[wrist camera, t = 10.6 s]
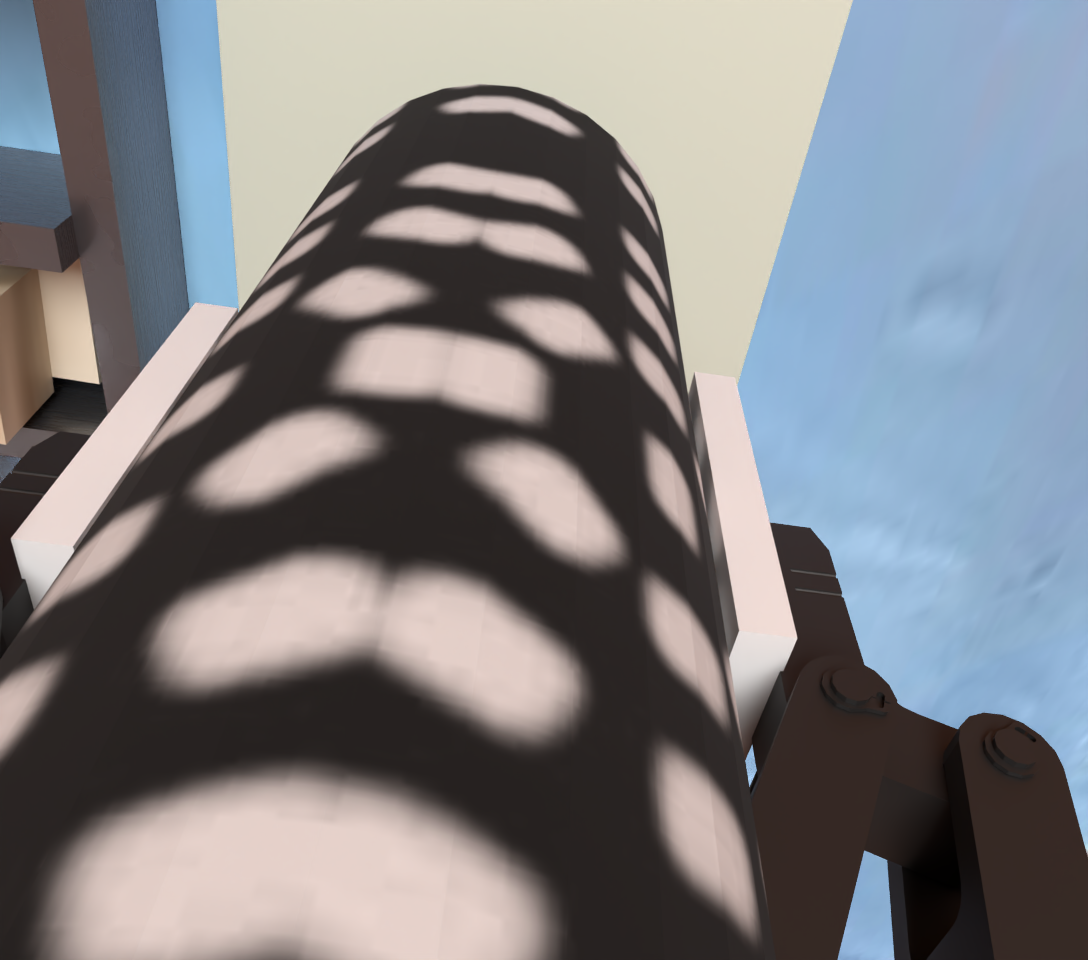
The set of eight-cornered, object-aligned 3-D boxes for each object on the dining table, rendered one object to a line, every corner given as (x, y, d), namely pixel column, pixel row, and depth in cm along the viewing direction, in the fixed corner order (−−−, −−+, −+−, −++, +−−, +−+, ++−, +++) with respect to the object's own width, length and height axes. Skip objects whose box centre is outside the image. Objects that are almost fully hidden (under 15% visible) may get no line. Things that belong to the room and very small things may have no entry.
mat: (867, -88, 23) (877, -84, 22) (712, 441, 32) (715, 458, 32) (216, -193, 22) (201, -193, 21) (254, 379, 32) (245, 394, 31)
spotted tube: (529, -1, 19) (176, 1118, 3) (727, 304, 23) (1039, 1508, 7) (250, 221, 22) (-660, 1351, 6) (465, 457, 26) (257, 1527, 10)
